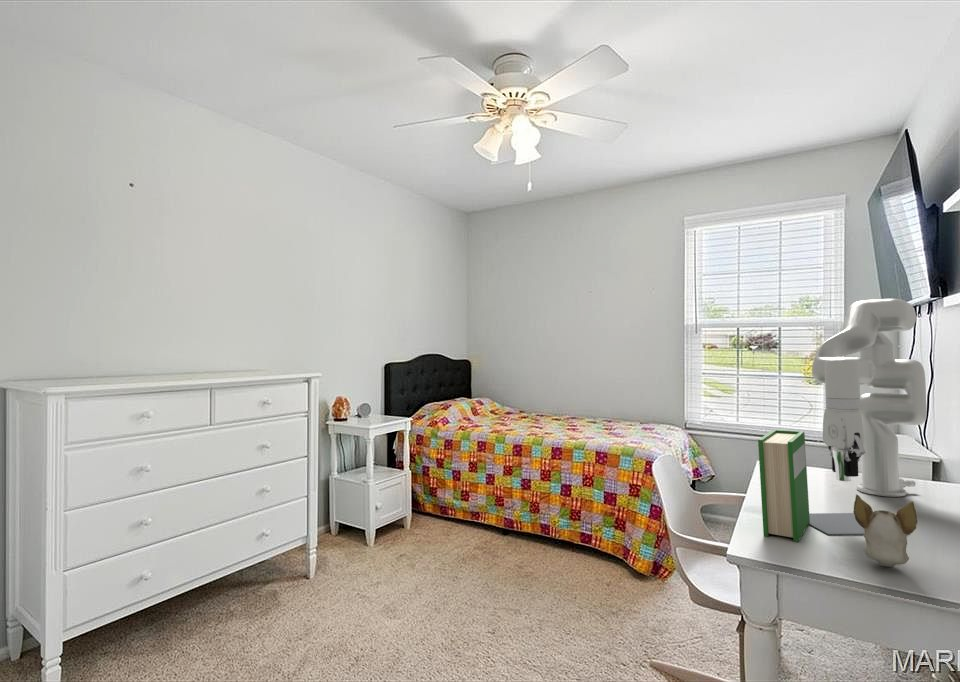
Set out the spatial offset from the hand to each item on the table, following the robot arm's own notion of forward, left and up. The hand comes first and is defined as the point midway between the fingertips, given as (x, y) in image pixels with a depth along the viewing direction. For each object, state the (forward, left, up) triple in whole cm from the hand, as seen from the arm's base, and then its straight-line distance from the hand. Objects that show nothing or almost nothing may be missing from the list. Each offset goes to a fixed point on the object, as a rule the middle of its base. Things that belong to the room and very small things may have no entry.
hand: (845, 473), depth 136 cm
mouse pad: (0, 0, -13) cm, 13 cm away
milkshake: (0, 0, -2) cm, 2 cm away
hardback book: (+17, +3, -13) cm, 22 cm away
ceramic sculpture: (+10, +27, -14) cm, 32 cm away
